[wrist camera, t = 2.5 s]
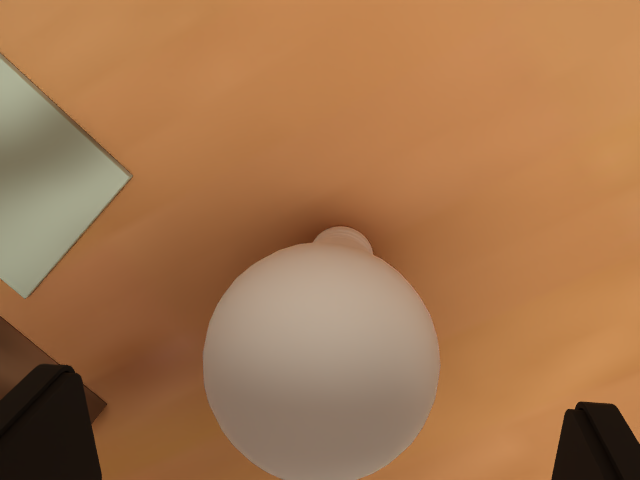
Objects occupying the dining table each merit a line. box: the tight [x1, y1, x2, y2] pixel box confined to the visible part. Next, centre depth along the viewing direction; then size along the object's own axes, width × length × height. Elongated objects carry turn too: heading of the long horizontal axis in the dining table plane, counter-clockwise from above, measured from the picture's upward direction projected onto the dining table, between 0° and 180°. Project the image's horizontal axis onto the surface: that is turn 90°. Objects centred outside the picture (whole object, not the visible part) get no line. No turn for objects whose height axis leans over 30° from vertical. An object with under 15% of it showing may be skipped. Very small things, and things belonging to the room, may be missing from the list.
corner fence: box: [0, 53, 133, 424], centre depth 19 cm, size 18×18×5 cm
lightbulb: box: [203, 226, 440, 480], centre depth 16 cm, size 6×6×11 cm
